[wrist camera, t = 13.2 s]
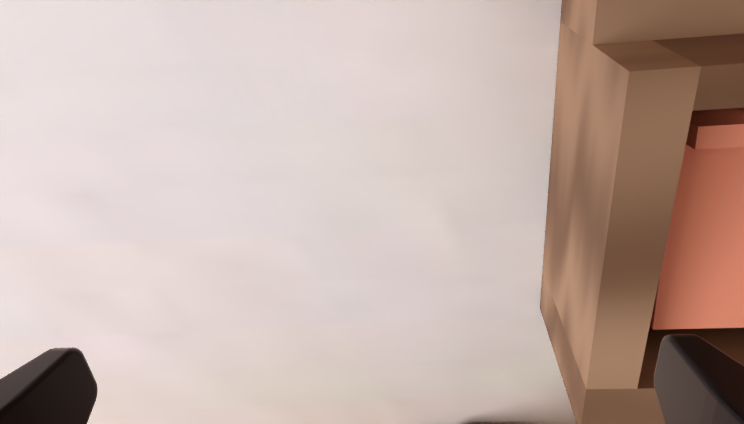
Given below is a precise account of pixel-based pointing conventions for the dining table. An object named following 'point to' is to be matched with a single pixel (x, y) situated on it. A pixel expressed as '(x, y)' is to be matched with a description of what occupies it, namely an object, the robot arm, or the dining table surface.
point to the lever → (706, 229)
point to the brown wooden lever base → (626, 186)
